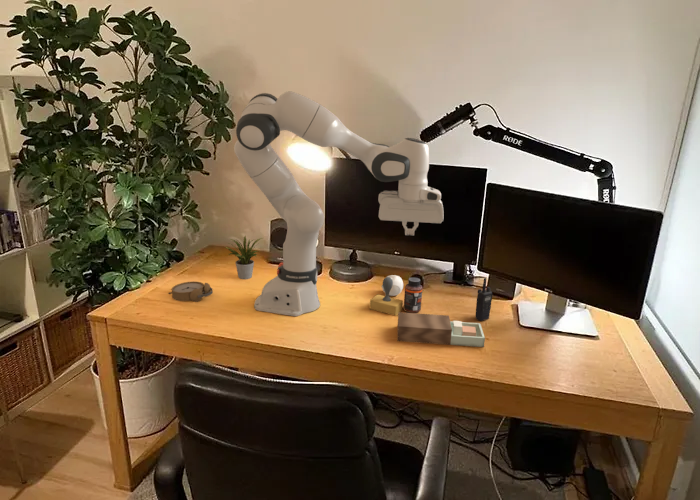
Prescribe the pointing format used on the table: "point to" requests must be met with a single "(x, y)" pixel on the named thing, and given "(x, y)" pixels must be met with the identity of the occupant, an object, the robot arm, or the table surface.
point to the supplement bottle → (413, 296)
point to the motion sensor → (395, 285)
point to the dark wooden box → (424, 328)
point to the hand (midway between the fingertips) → (409, 234)
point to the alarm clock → (191, 291)
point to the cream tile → (457, 328)
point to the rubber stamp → (386, 300)
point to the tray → (469, 340)
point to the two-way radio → (483, 303)
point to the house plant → (244, 259)
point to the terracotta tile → (468, 331)
